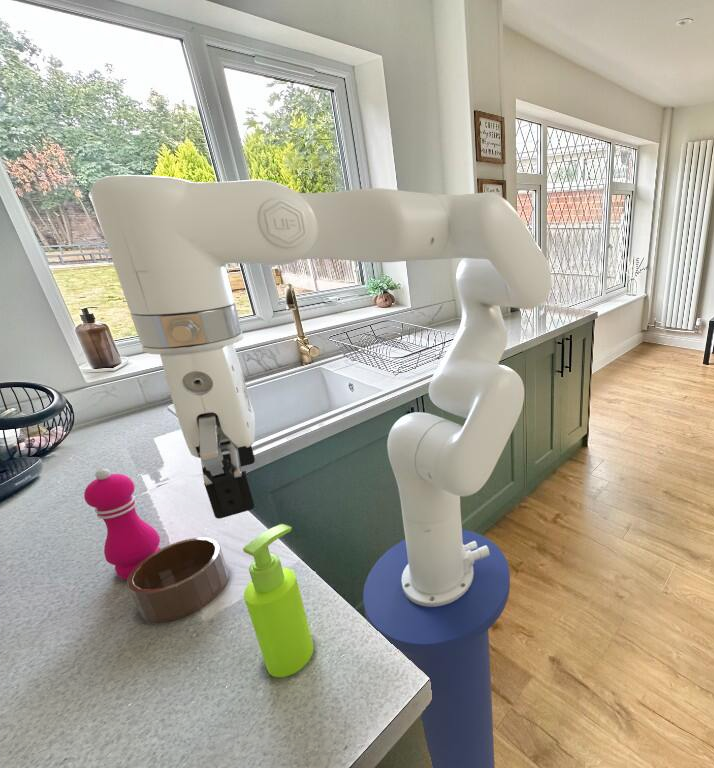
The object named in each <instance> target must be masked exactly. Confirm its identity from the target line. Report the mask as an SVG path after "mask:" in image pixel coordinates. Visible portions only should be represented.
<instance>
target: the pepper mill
mask: <svg viewBox="0 0 714 768" xmlns="http://www.w3.org/2000/svg"><path fill="white" fill-rule="evenodd" d="M94 477H95V479H93V480H92V481H91V482H90V483H89V484H88V485H86V487H85V490H84V492H83V499H84V500H85V503H86V504H87V505H88V506H90V507H92V508H94V512H95V513H96V517H97V518H98V519H101V520H103V522H104V524H105V526H106V533H107V534H106V539H105V542H104V548H103V554H104V559H105V560H106V562H107V563H108V564H110V565H112V566H114V570H115V572H116V575H117V577H118V578H120V579H122V580H128V578H129V575H130V573H131V572H132V571H133V570H134V569H135V567H136V566H137V565H138V564H139V563H140V562H142V561H143V560H144V559H146V558H147V557H148V556H150V555H151V554H153V553H155V552H156V551H158V550H160V549H161V548H160V547H159V545H160V542H161V537H160V535H159V533H158V531H157V530H156V529H155V528H154V527H153V526H152V525H151V524H149V523H147V522H146V521H144V520H143V519H142V518H140V516H139V515H138V513H137V511H136V506H137V504H138V502H137V500H136V496H135V495H133V493H134V492H135V487H136V486H135V483H134V481H133V480H132V479H131V478H130V477H129V476H127V475H124V474H123V473H111V470H110V469H108V468H100V469H98V470H97V471H96V472H95V474H94Z"/></svg>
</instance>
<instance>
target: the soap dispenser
mask: <svg viewBox="0 0 714 768" xmlns="http://www.w3.org/2000/svg"><path fill="white" fill-rule="evenodd" d="M292 529H293V527H292V526H290V525H288V524H284V523H280V524H278V525H276V526H273V527H271V528H269V529H267V530H266V531H264V532H262V533H261V534H260V535H259V536H257V537H255V538H254V539H253V540H251V541H250V542H249V543H248V544H246V545H245V546H244V547H242V551H243V552H244V553H245V554H247V555H249V556H251V557H253V559H254V561H252V563H251V564H250V565H249V567H248V570H249V571H248V572H249V576H250V579H251V581H250V582H249V583H248V585H247V586H246V588H245V590H244V592H243V598H244V601H245V604H246V608H247V610H248V614H249V617H250V620H251V623H252V627H253V630H254V632H255V636H256V639H257V642H258V645H259V648H260V652H261V655H262V658H263V661H264V664H265V667H266V670H267V672H268V674H269V675H270V676H272V677H274V678H286V677H289V676H292V675H294V674H296V673H297V672H299V671H300V670H302V669H303V668H304V667H305V666H306V665H307V664H308V663H309V662H310V660H311V658H312V656H313V654H314V649H315V648H314V647H315V645H314V641H313V638H312V634H311V630H310V627H309V622H308V618H307V615H306V610H305V606H304V603H303V599H302V595H301V591H300V586H299V583H298V580H297V575H296V573H295V571H294V570H293V569H290V568H288V567H282V566H283V565H282V563H281V558H280V557H279V555H277V554H274V553H270V549H269V546H270V545H271V544H272V543H274V542H275V541H276V540H278V539H280V538H281V537H283V536H285V535H287V534H288V533H290V532H291V531H292Z"/></svg>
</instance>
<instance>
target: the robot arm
mask: <svg viewBox="0 0 714 768" xmlns="http://www.w3.org/2000/svg"><path fill="white" fill-rule="evenodd" d="M90 195H91V199H92V203H93V207H94V210H95V213H96V217H97V219H98V221H99V225H100V227H101V231H102V234H103V236H104V240H105V242H106V245H107V248H108V251H109V254H110V257H111V260H112V263H113V266H114V270H115V272H116V275H117V278H118V280H119V284H120V286H121V290H122V292H123V295H124V299H125V301H126V304H127V307H128V310H129V312H130V316H131V319H132V322H133V325H134V328H135V332H136V334H137V337H138V340H139V343H140V345H141V347H142V351H143V353H146V354H150V355H159V356H160V360H161V364H162V368H163V371H164V375H165V376H164V379H165V380H166V382H167V387H168V390H169V394H170V398H171V400H172V403H173V408H174V410H175V414H176V417H177V421H178V424H179V426H180V429H181V432H182V436H183V438H184V441H185V444H186V446H187V448H188V451H189V453H190V454H191V456H193V457H195V458H198V459H200V463H201V470H202V478H203V485H204V488H205V491H206V494H207V497H208V499H209V503H210V506H211V509H212V512H213V516H214V518H215V519H219V520H220V519H224V518H227V517H231V516H234V515H238V514H242V513H244V512H249V511H251V510H254V508H255V500H254V496H253V493H252V489H251V485H250V482H249V478H248V475H247V471H246V470H243V471H242V467H244V466H245V467H246V466H250V465H253V464H255V461H256V458H255V454H254V451H253V447H252V446H253V444H254V442H255V439H256V437H255V436H256V435H255V434H256V417H255V416H256V415H255V411H254V407H253V405H252V401H251V398H250V394H249V391H248V388H247V384H246V380H245V377H244V374H243V373H244V372H243V369H242V366H241V363H240V359H239V356H238V353H237V351H236V348H235V345H234V344H236V343H239V341H242V340H243V339H244V334H243V331H242V326H241V322H240V317H239V314H238V310H237V306H236V302H235V299H234V295H233V294H234V293H233V291H232V290H233V289H232V286H231V281H230V278H229V273H228V269H227V264H243V265H244V264H245V265H247V264H248V265H261V266H285V265H290V264H294V263H295V262H297V261H300V260H340V261H348V262H349V261H350V262H358V263H399V262H413V261H415V262H416V261H428V260H429V261H432V260H447V259H461V260H460V262H459V263H458V266H457V268H456V272H455V273H456V274H455V281H456V289H457V292H458V296H459V297H458V298H459V300H460V301H459V302H460V307H461V321H460V325H459V327H458V329H457V332H456V334H455V336H454V338H453V339H452V341H451V343H450V345H449V346H448V348H447V350H446V352H445V354H444V355H443V357H442V358H441V360H440V362H439V364H438V365H437V368H436V369H435V371H434V373H433V375H432V377H431V379H430V382H429V385H428V397H429V399H430V401H431V402H432V404H433V405H435V406H436V407H437V408H439V409H440V410H443V411H445V412H447V413H449V414H452V415H455V416H457V417H461V418H462V419H465V421H464V423H463V425H462V424H459V423H456V422H454V421H452V420H449V419H447V418H444V417H441V416H438V415H435V414H433V413H428V412H422V411H421V412H420V411H417V412H410V413H407V414H405V415H403V416H401V417H399V418H398V419H397V420H396V421H395V422H394V424H393V425H392V427H391V428H390V431H389V433H388V437H387V444H386V445H387V447H386V449H387V455H388V460H389V463H390V466H391V469H392V472H393V474H394V477H395V481H396V484H397V489H398V494H399V501H400V507H401V516H402V524H403V531H404V537H405V538H404V540H406V548H407V556H408V565H407V566H406V567H405V569H404V571H403V574H402V581H401V582H402V588H403V592H404V594H405V595H406V597H407V598H408V599H409V600H410V601H412V602H414V603H415V604H418V605H421V606H427V607H437V606H442V605H446V604H449V603H451V602H453V601H455V600H457V599H458V598H460V597H461V596H462V595H464V593H465V592H466V591H467V590H468V589H469V587H470V585H471V583H472V581H473V575H474V572H473V565H472V564H474V561H476V560H478V559H482V558H485V557H487V556H489V555H490V553H489V549H488V547H487V546H486V545H485V546H483V547H480V548H478V549H477V550H474V551H472V552H471V551H470V550H473V549H476V548H477V543H476V541H473V542H471V543H468V544H466V545H463V539H462V530H463V525H462V513H461V497H470V496H472V495H474V494H476V493H477V492H479V491H480V490H481V489H482V488H483V487H484V486H485V485H486V483H487V482H488V480H489V478H490V477H491V475H492V473H493V472H494V469H495V467H496V466H497V464H498V462H499V459H500V457H501V455H502V453H503V451H504V449H505V447H506V445H507V443H508V440H509V439H510V437H511V434H512V432H513V431H514V428H515V426H516V425H517V422H518V420H519V418H520V415H521V413H522V409H523V407H524V406H523V405H524V401H525V387H524V382H523V379H522V378H521V376H520V375H519V374H518V373H517V372H516V370H514V369H512V368H510V367H508V366H507V365H503V364H500V361H501V359H502V356H503V355H504V353H505V350H506V347H507V344H508V332H507V328H506V324H505V320H504V318H503V313H502V311H501V307H507V308H514V309H520V310H521V309H522V310H527V309H529V310H530V309H534V308H537V307H539V306H540V305H542V304H543V303H544V302H545V301H546V300H547V298H548V297H549V294H550V292H551V289H552V272H551V268H550V265H549V263H548V260H547V258H546V256H545V255H544V253H543V251H542V249H541V248H540V247H539V245H538V243H537V241H536V239H535V238H534V237H533V235H532V233H531V231H530V230H529V228H528V227H527V225H526V223H525V221H523V219H522V217H521V216H520V214H519V213H518V212H517V210H516V209H515V208H514V207H513V206H512V205H511V203H509V201H507V200H506V199H505V198H504V197H503V196H501V195H499V194H497V193H495V192H488V191H487V192H477V193H475V192H474V193H465V194H463V193H462V194H443V193H441V194H440V193H431V192H417V191H409V190H400V189H390V188H384V187H383V188H382V187H381V188H379V187H377V188H355V189H348V190H341V191H340V190H339V191H329V192H297V191H295V190H294V189H292V188H290V187H289V186H287V185H284V184H282V183H279V182H276V181H272V180H267V179H246V180H234V181H208V182H207V181H203V182H202V181H201V182H198V181H190V180H186V179H183V178H177V177H169V176H159V175H145V174H144V175H143V174H141V175H140V174H118V175H108V176H104V177H100V178H98V179H96V180H95V181H93V183H92V185H91V190H90Z"/></svg>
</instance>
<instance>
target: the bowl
mask: <svg viewBox="0 0 714 768" xmlns="http://www.w3.org/2000/svg"><path fill="white" fill-rule="evenodd" d="M227 566H228V565H227V563H226V560H225V557H224V554H223V552H222V547H221V545H220V543H219V542H218V540H216V539H213V538H211V537H203V536H199V537H192V538H187V539H183V540H179V541H176V542H173V543H171V544H168V545H166V546H164V547H162V548H160V550H158V551H156V552H155V553H153V554H151V555H150V556H148V557H147V558H146V559H144V560H143V561H142V562H140V563H139V564H138V565H137V566H136V567H135V569H134V570H133V571H132V572H131V573H130V575H129V578H128V579H126V580H127V581H126V583H127V588H128V590H129V592H130V595H131V597H132V599H133V601H134V604H135V606H136V608H137V611H138V613H139V614H140V616H141V618H142V619H144V620H145V621H147V622H149V623H157V624H158V623H159V624H160V623H168V622H172V621H177V620H180V619H183V618H185V617H187V616H189V615H191V614H194V613H195V612H198V611H199V610H201V609H202V608H204V607H206V606H207V605H209V603H211V602H212V601H213V600H215V599H216V598H217V597H218V596H219V595H220V594H221V592H222V591H223V590H224V589H225V587H226V586H227V583H228V581H229V576H230V575H229V571H228V570H229V569H228V567H227Z"/></svg>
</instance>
